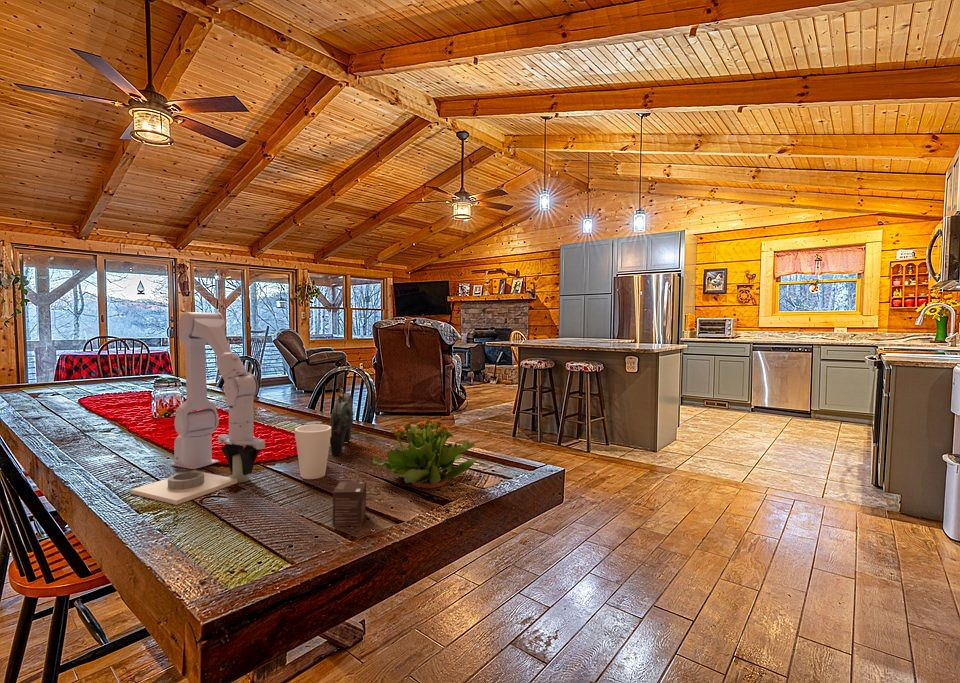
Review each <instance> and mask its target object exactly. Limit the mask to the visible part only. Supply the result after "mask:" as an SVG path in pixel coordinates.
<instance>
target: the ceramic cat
mask: <svg viewBox="0 0 960 683" xmlns="http://www.w3.org/2000/svg"><path fill="white" fill-rule="evenodd" d="M339 391H340V392H341V394H337V395H336V400H335V404H334V406H333V408H332V411H331V415H330V422H329V426H331V437H330V444H329V445H330V453H331V456H341V455H342V454H343V447H344V444H345V443H344V442H349V443H350V441H351V434H352V433H351V432H352V431H351V430H352V426H353V423H354V409H353V407H354V406H353V405H354V404H353V396H352V394H350V393H345V388H344V387H340V388H339ZM349 440H350V441H349Z"/></svg>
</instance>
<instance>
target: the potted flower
mask: <svg viewBox="0 0 960 683" xmlns="http://www.w3.org/2000/svg"><path fill="white" fill-rule="evenodd" d="M434 429H435V431H433V430H434ZM392 434H393V435H394V436H396V438H397V440H396V442H398V443H399V446H398V445H396V447H397V448H395V449H394V450H392V449H390V450H388V451H387V452H385V455H386V457H387V459H385V461H383V462H380V460H379V459H378V457H374V458H373V459H372V464H373V465H378V466H381V467H385V469H387V470H390V472H392V473H394V474H398V475H403V478H404V483H406V484H408V483H412V484H413V485H412V484H411V485H412V486H414V485H415V486H414V487H417V488H420V487H422V489H437V488H441V487H443V486H445V485H446V484H447V482H448V480H450V479H453V478H456V477H458V476H460V475H462V474H463V473H465V472H466V471H468V470H469V469H470V468H471V467H472V466H474V463H476V461H477V460H476V459H475V458H471V459H468V460H465V461H463V462H462V463H459V464H458V465H457V466H455V465H454V463H455V462H456V461H457V460H458V459H460V458H462V457H463V456H464V454H462V453H464V452H465V451H468V450H470V449H473V448H474V447H475V443H473V442H470V441H469V440H464V441H462V444H460V443H457V442H455V443H454V444H453V443H448V444H446V443H447V441H448V439H449V438H450V437H451V438H452V437H453V438H454V435H453V433H452V430H449V426H448V425H447V424H444V422H443V421H442V420H440V419H437V420H431V419H427V418H425V419H424V420H419V421H418V422H417V423H416V425H415V426H413V425H412V424H411V422H408V421H407V422H404V424H403V427H402V426H401V427H400V426H394V427H393V430H392ZM405 436H406V441H407V448H408V449H407V448H406V447H405V446H404V445H403V443H402V440H401V438H405ZM445 445H446V446H445ZM453 465H454V466H453ZM446 473H447V474H446ZM440 486H441V487H440ZM436 487H437V488H436Z"/></svg>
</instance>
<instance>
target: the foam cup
mask: <svg viewBox="0 0 960 683" xmlns="http://www.w3.org/2000/svg"><path fill="white" fill-rule="evenodd" d="M322 424H323V423H322ZM322 424H312V425H304V424H303V425H299V426H297V427H295V428H294V439H295V442H296V451H297V458H298V465H299V473H300V478H301V477H302V479H306V480H314V479H320V478H323V477H325V476H326V470H327V465H328V464H327V463H328V456H329V450H330V445H331V444H330V437H331V426H330V425H328V424H323V425H322Z"/></svg>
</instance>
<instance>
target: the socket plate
mask: <svg viewBox="0 0 960 683" xmlns="http://www.w3.org/2000/svg"><path fill="white" fill-rule="evenodd" d="M235 484H238V483H237V479H235V478H233V477H229V476H225V475H220V474H214V473H209V472H205V471H199V470H196V469H193V470H190V471H188V470H187V471H183V472H178V473H175V474H171V475H170V476H168V477H167V478H165V479H162V480H158V481H154V482H151V483H148V484H145V485H141V486H139V487H136V488H131V489H130V494H131V495H136V496H139V497H144V498H148V499H152V500H156V501H159V502H163V503H168V504H172V505H175V506H177V505H180V504H183V503H185V502H188V501H191V500H194V499H196V498H200V497H202V496H203V497H204V496H205V495H208V494H211V493H213V492H216V491H219V490H222V489H224V488H228V487H230V486H233V485H235Z"/></svg>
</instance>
